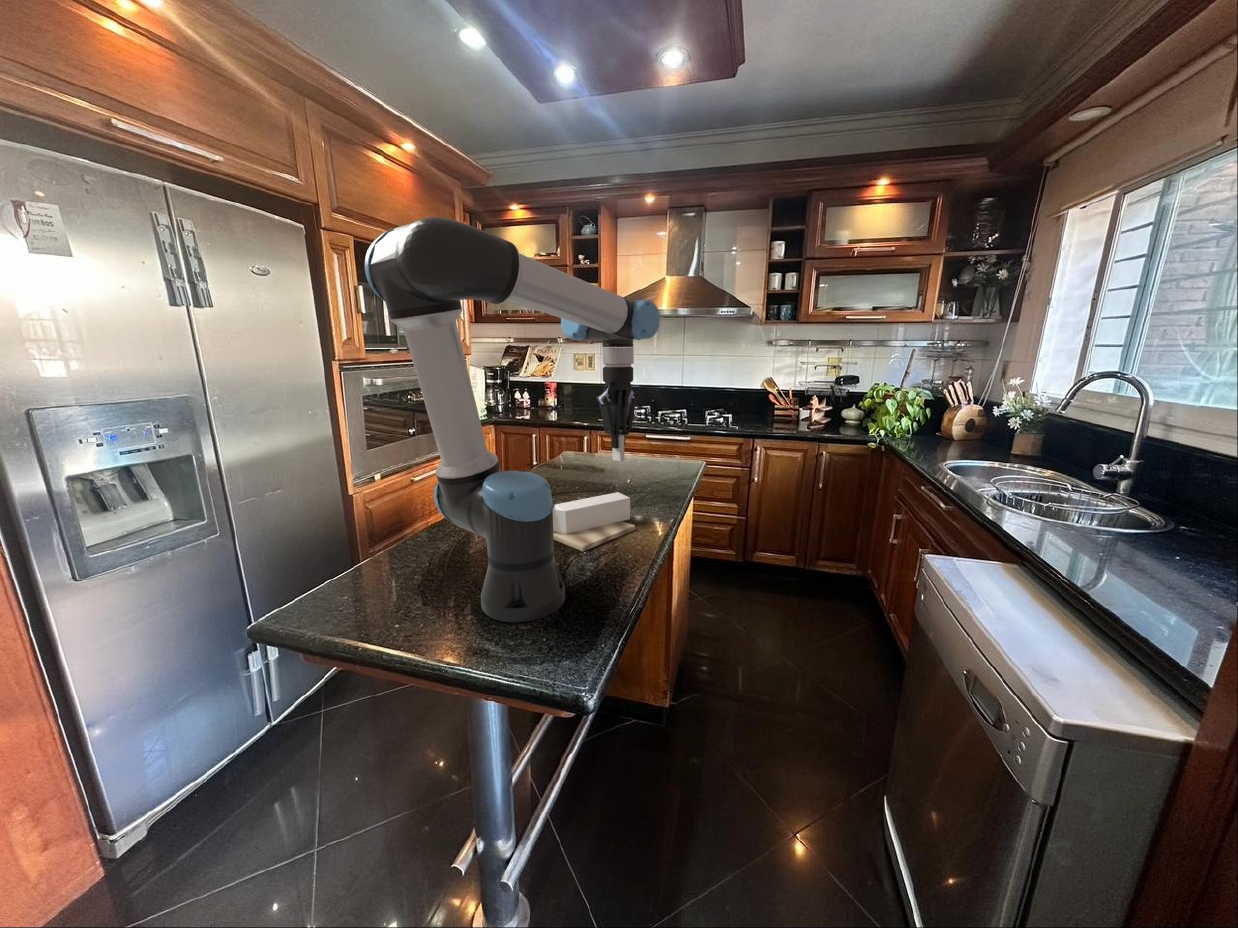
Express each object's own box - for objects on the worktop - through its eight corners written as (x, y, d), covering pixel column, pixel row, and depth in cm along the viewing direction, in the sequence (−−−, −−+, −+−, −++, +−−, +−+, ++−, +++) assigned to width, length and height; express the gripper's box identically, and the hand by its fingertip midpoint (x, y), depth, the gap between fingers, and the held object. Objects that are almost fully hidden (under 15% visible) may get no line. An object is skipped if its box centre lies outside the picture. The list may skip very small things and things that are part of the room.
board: (582, 551, 109) (582, 546, 109) (549, 537, 117) (549, 533, 117) (635, 529, 122) (635, 525, 122) (601, 518, 130) (601, 514, 130)
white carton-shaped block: (618, 512, 131) (543, 529, 119) (618, 491, 129) (542, 506, 118) (630, 519, 126) (554, 537, 114) (630, 497, 124) (553, 513, 113)
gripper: (624, 364, 123) (624, 453, 129) (587, 366, 114) (589, 462, 120) (647, 365, 118) (646, 458, 124) (610, 367, 109) (611, 467, 115)
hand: (618, 460), depth 122 cm, fingers closed
